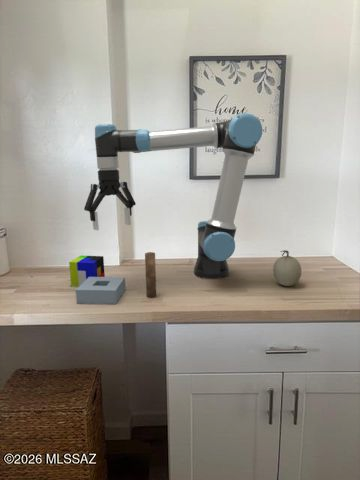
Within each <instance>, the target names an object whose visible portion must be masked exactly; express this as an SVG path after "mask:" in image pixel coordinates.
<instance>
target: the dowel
mask: <svg viewBox="0 0 360 480" xmlns="http://www.w3.org/2000/svg"><path fill="white" fill-rule="evenodd" d="M144 264H145V286H146V287H145V290H146V293H145V294H146V295H145V296H146V298H148V299H153V298H156V297H157V275H156V273H157V271H156V268H157V267H156V253H155V252H154V251H150V252H145V253H144Z"/></svg>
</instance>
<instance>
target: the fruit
mask: <svg viewBox="0 0 360 480" xmlns="http://www.w3.org/2000/svg"><path fill="white" fill-rule="evenodd" d="M280 252H283V253H282V254H281V256H280V257H278V258H277V259H276V260H275V261H274V264H273V268H272V273H273V277H274V279H275V281H276V282H277V283H278V284H279V285H282V286H284V287H292V286H295V285H296V284H298V282H299V281H300V279H301V278H302V266H301V263H300V261H299V260H298V259H297V258H295V257H294V256H290V252H289V251H288V250H287V249H286V250H280ZM285 254H286V255H285Z"/></svg>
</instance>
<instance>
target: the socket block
mask: <svg viewBox="0 0 360 480" xmlns="http://www.w3.org/2000/svg"><path fill="white" fill-rule="evenodd" d="M125 291H126V277H125V276H124V277H123V276H105V277H88V278H87V279H86V280H85V281H84V282H83V283H82V284H81V285H80V286H77V288H76V289H75V297H76V298H75V299H76V304H88V305H89V304H90V305H91V304H92V305H93V304H94V305H98V304H99V305H117V304H118V302H119V301H120V299H121V298H122V295H124V293H125Z"/></svg>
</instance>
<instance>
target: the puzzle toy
mask: <svg viewBox="0 0 360 480" xmlns="http://www.w3.org/2000/svg"><path fill="white" fill-rule="evenodd" d="M104 261H105V259H104V255H103V256H102V255H83V254H82V255H79V256H77V257H76V258H74V259H72V260H70V261H69V263H68V266H69V277H70V286H71V287H79V286H80V285H81V284H82V283H83V282H84V281H85V280H86V279H87V278H88V277H106V276H105V274H106V273H105V262H104Z"/></svg>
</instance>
